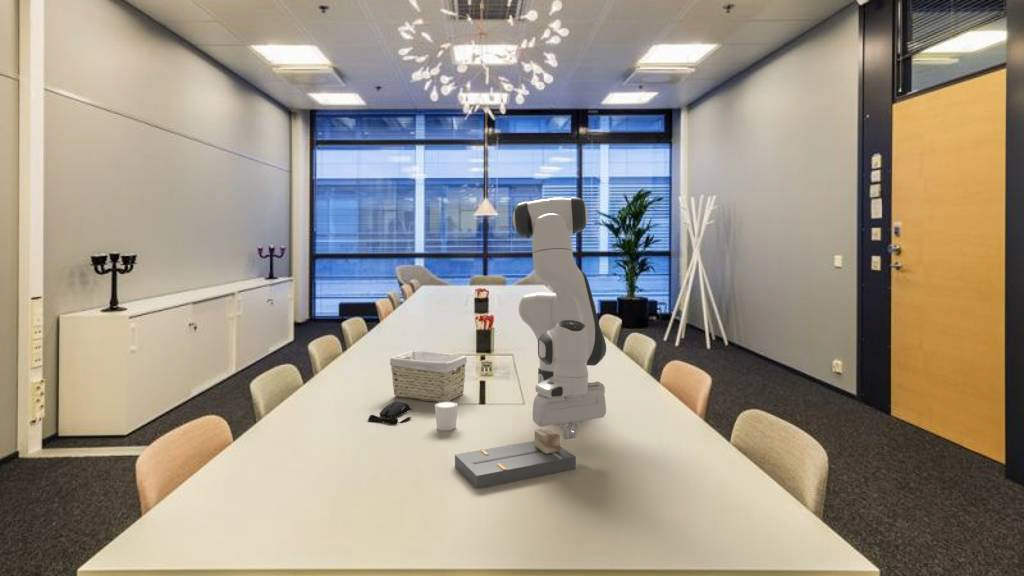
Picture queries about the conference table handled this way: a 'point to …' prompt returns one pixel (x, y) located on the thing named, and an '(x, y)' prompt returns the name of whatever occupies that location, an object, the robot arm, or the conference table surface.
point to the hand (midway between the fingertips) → (569, 438)
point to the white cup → (446, 415)
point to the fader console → (511, 464)
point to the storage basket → (428, 375)
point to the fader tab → (547, 440)
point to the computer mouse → (392, 413)
